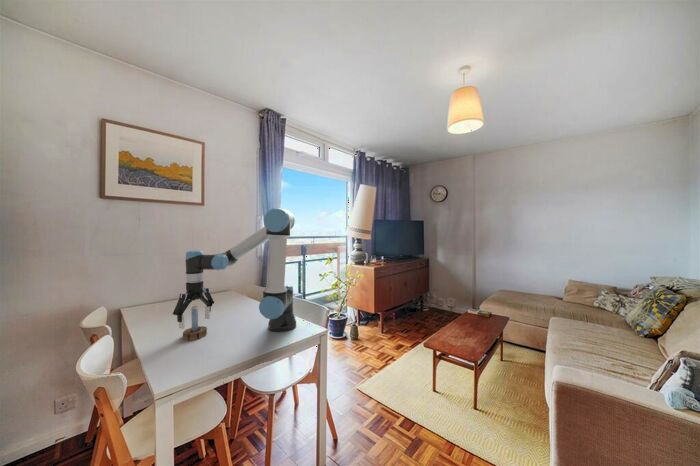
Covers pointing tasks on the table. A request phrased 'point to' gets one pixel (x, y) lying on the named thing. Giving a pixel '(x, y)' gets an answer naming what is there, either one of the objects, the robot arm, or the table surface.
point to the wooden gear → (194, 333)
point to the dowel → (194, 319)
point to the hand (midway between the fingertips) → (195, 323)
